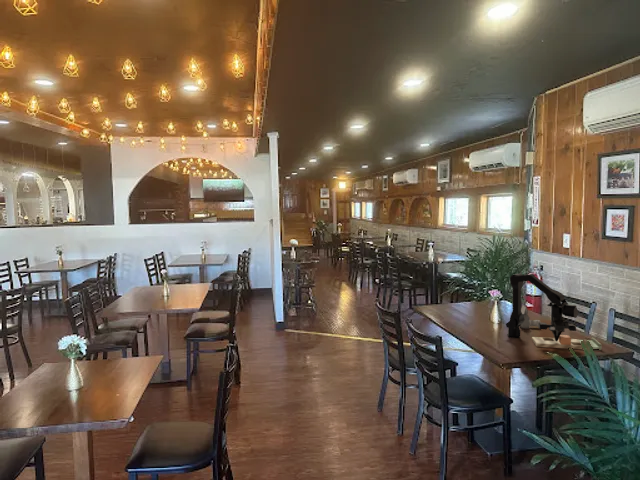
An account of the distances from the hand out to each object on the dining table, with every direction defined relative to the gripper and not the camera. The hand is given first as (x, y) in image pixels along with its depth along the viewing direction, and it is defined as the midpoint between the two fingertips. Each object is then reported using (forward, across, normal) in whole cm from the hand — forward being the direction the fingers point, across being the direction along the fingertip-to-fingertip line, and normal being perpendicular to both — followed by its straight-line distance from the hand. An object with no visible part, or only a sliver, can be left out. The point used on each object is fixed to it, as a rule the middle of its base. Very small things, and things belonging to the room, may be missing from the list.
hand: (556, 341), depth 247 cm
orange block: (+1, +4, 0) cm, 4 cm away
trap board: (+3, +5, +3) cm, 7 cm away
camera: (+3, -7, +39) cm, 40 cm away
